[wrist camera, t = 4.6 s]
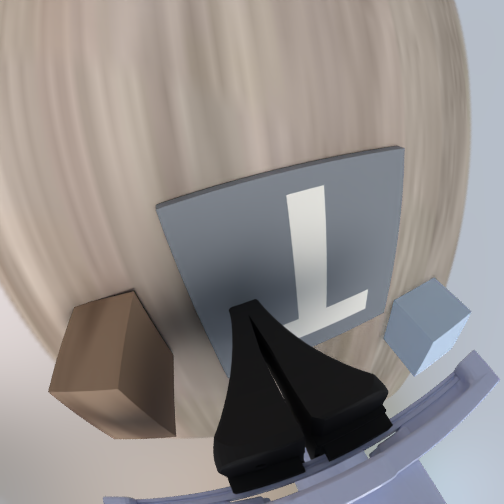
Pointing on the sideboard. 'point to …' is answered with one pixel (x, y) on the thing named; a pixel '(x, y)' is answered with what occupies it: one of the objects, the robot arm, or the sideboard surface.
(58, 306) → the sideboard surface
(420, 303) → the blue cube
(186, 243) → the letter card
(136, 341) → the walnut block
